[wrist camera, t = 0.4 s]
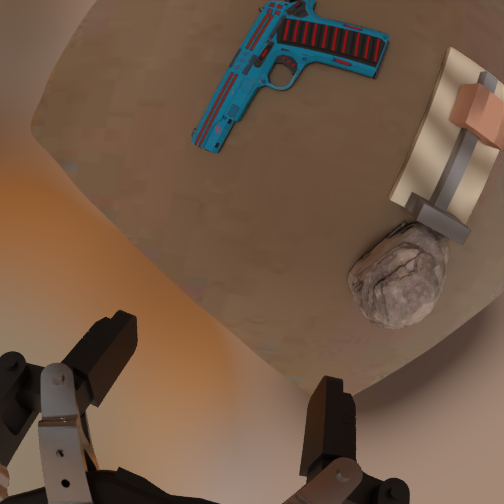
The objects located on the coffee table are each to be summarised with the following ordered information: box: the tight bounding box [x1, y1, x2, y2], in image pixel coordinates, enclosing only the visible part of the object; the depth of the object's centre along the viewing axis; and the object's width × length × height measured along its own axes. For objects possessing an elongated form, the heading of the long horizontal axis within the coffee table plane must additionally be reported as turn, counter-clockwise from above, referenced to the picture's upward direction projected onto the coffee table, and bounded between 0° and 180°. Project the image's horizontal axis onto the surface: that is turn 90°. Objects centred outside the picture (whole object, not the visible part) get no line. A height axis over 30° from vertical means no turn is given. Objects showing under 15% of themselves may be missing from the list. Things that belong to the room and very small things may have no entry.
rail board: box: [388, 47, 504, 245], centre depth 27 cm, size 21×11×6 cm, turn 161°
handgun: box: [191, 0, 389, 153], centre depth 30 cm, size 23×3×15 cm
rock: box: [348, 220, 450, 330], centre depth 33 cm, size 15×12×10 cm
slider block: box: [448, 83, 504, 151], centre depth 24 cm, size 5×6×5 cm
